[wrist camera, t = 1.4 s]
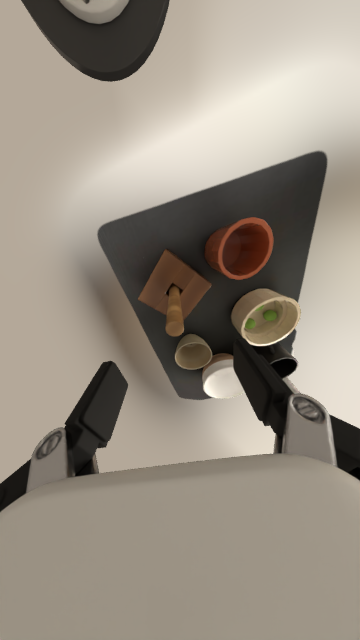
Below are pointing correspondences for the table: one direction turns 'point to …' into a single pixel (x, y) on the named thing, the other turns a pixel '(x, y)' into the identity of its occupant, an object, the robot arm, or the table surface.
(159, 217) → the table surface
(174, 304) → the wooden dowel peg
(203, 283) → the holder
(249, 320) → the pea
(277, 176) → the table surface
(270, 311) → the pea
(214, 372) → the bowl
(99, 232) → the table surface
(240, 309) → the mixing bowl
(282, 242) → the table surface
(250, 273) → the crock
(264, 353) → the mug
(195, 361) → the flower pot
